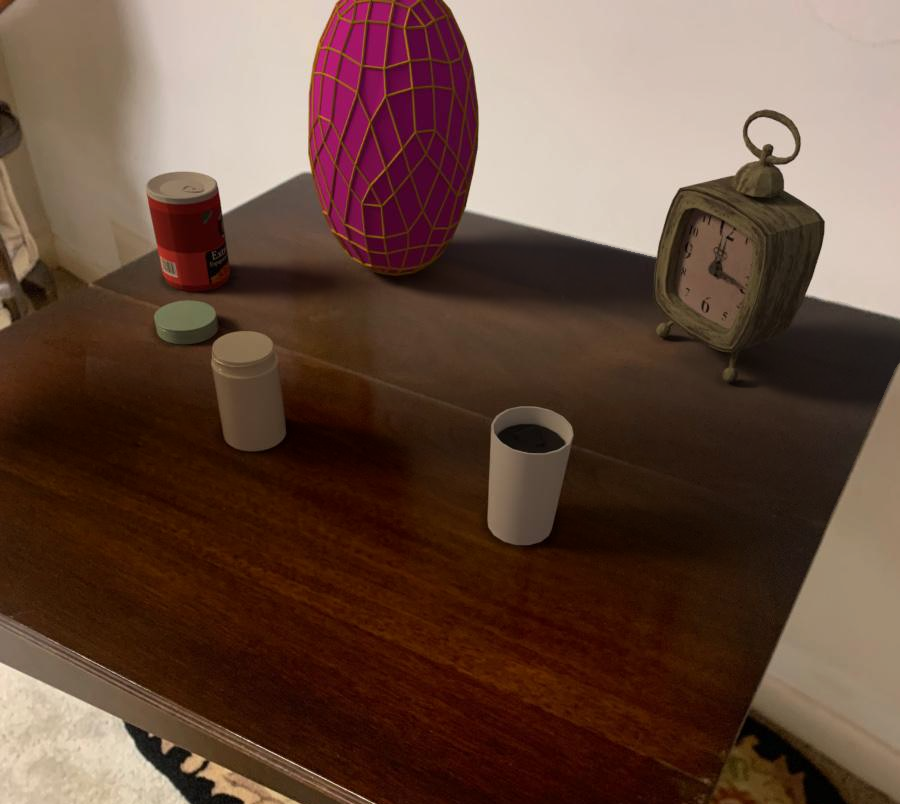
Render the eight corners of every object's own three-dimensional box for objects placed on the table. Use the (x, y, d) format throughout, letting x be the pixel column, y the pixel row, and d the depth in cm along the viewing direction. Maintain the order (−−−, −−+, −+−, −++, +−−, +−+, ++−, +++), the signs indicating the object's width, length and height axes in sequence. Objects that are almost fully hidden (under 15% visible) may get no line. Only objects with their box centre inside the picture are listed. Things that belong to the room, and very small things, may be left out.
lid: (225, 316, 101) (223, 302, 100) (210, 346, 96) (207, 332, 95) (167, 312, 101) (164, 298, 100) (149, 342, 96) (145, 327, 95)
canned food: (225, 294, 104) (211, 199, 96) (157, 291, 104) (137, 196, 96) (236, 264, 110) (223, 172, 102) (170, 261, 109) (153, 169, 101)
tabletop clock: (639, 333, 102) (691, 95, 84) (696, 315, 106) (757, 83, 88) (728, 395, 94) (807, 145, 76) (787, 373, 98) (875, 130, 80)
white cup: (473, 503, 80) (481, 410, 73) (544, 495, 81) (558, 402, 74) (493, 553, 75) (503, 459, 68) (567, 543, 77) (585, 449, 70)
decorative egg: (316, 233, 117) (297, -43, 95) (461, 232, 119) (476, -38, 97) (315, 304, 104) (293, 3, 82) (479, 302, 106) (500, 8, 84)
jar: (216, 448, 84) (200, 361, 77) (232, 412, 88) (218, 326, 81) (279, 454, 84) (268, 366, 77) (291, 417, 88) (283, 331, 81)
